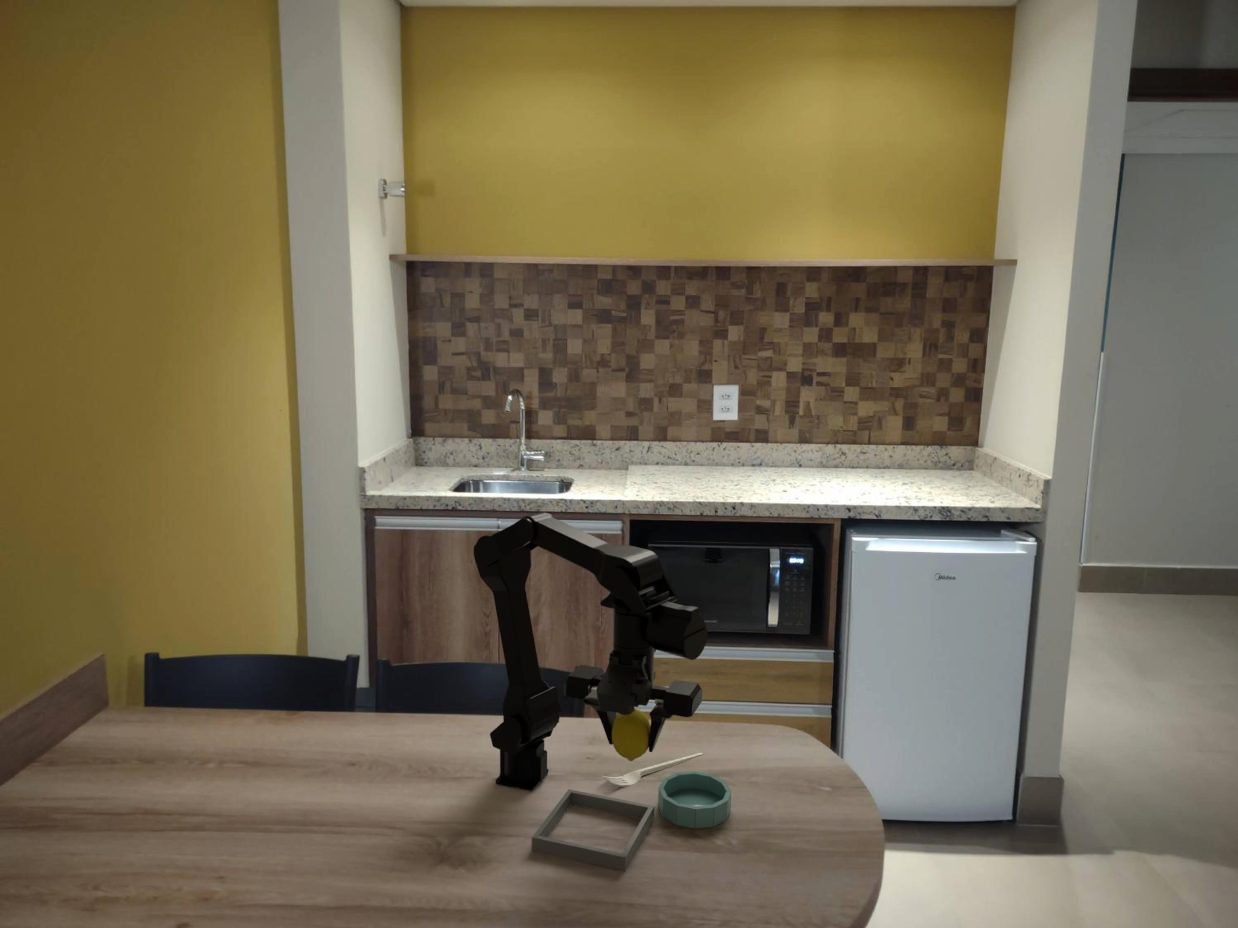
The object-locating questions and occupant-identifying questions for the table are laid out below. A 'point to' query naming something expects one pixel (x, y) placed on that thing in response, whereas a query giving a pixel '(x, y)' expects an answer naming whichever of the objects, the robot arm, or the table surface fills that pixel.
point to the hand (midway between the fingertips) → (631, 746)
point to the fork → (646, 771)
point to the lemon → (631, 734)
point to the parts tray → (586, 852)
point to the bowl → (694, 799)
